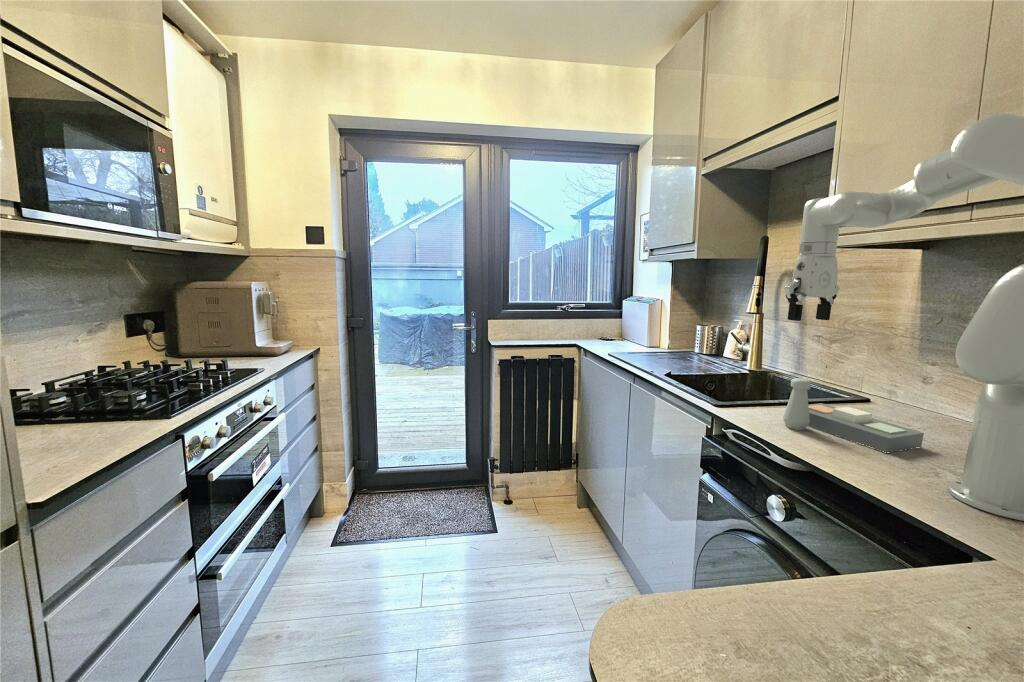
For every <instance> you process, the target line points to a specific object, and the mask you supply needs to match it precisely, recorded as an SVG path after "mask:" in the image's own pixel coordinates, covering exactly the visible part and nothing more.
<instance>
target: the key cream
mask: <svg viewBox="0 0 1024 682" xmlns="http://www.w3.org/2000/svg"><path fill="white" fill-rule="evenodd" d="M872 415H873V414H872V413H871V412H867V411H864V410H862V409H861V410H860V409H859V408H858V409H857V408H854V407H850V406H845V407H844V406H843V407H836V408H834V409H833V413H832V417H835V418H839V419H842V420H845V421H848V422H851V423H855V424H858V423H866V422H871V418H873V417H872Z"/></svg>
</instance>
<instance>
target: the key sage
mask: <svg viewBox="0 0 1024 682" xmlns="http://www.w3.org/2000/svg"><path fill="white" fill-rule="evenodd" d="M864 427H867V428H871V429H874V430H877V431H880V432H883V433H887V434H890V435H892V434H899V433H906V430H904V429H900V428H897V427H893V426H890V425H887V424H883V423H880V422H879V423H871V424H864Z"/></svg>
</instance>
